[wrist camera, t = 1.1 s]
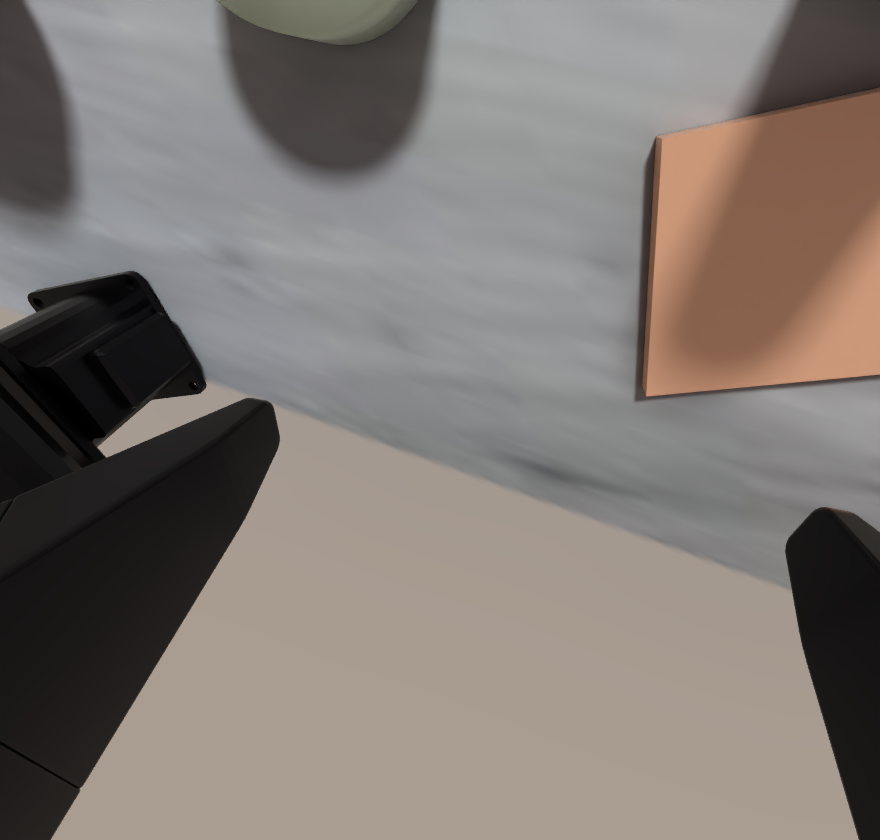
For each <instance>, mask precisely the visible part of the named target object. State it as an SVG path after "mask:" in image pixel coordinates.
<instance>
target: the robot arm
mask: <svg viewBox="0 0 880 840" xmlns="http://www.w3.org/2000/svg"><path fill="white" fill-rule="evenodd" d="M131 281H133V282H134V284H135V286H134V285H133V284H132V283H131ZM28 301H29V303H30V304H31V306H32V307H33V308H34V309H35V311H36V313H34V314H32V315H30V316H28V317H26V318H24V319H22V320H20V321H18V322H16V323H14V324H11V325H9V326H7V327H5V328H3V329H1V330H0V840H51V838H52V836H53V835H54V833H55V832H56V830H57V828H58V827H59V825H60V823H61V822H62V820H63V818H64V817H65V815H66V813H67V812H68V810H69V809H70V807H71V805H72V804H73V802H74V800H75V799H76V797H77V795H78V794H79V792H80V788H81V787H82V786H83V785H84V783H85V782H86V780H87V778H88V777H89V775H90V773H91V772H92V770H93V768H94V767H95V765H96V763H97V762H98V760H99V759H100V757H101V755H102V754H103V752H104V750H105V748H106V747H107V745H108V744H109V742H110V740H111V739H112V737H113V736H114V734H115V732H116V731H117V729H118V727H119V726H120V724H121V722H122V721H123V719H124V717H125V716H126V714H127V713H128V711H129V709H130V708H131V706H132V704H133V703H134V701H135V699H136V698H137V696H138V694H139V693H140V691H141V689H142V688H143V686H144V685H145V683H146V681H147V680H148V678H149V676H150V675H151V673H152V671H153V670H154V668H155V666H156V665H157V663H158V662H159V660H160V658H161V657H162V655H163V653H164V652H165V650H166V648H167V647H168V645H169V643H170V642H171V640H172V639H173V637H174V635H175V634H176V632H177V630H178V629H179V627H180V625H181V624H182V622H183V620H184V619H185V617H186V615H187V614H188V612H189V611H190V609H191V607H192V606H193V604H194V602H195V600H196V599H197V597H198V596H199V594H200V592H201V591H202V589H203V587H204V586H205V584H206V583H207V581H208V579H209V578H210V576H211V574H212V573H213V571H214V569H215V568H216V566H217V565H218V563H219V561H220V559H221V558H222V556H223V555H224V553H225V551H226V550H227V548H228V546H229V545H230V543H231V542H232V540H233V538H234V537H235V535H236V533H237V532H238V530H239V528H240V526H241V525H242V523H243V521H244V519H245V518H246V516H247V514H248V511H249V509H250V508H251V505H252V503H253V501H254V499H255V497H256V495H257V493H258V490H259V488H260V486H261V484H262V482H263V480H264V478H265V475H266V473H267V471H268V469H269V466H270V464H271V463H272V460H273V458H274V456H275V454H276V452H277V449H278V446H279V442H280V435H279V430H278V425H277V421H276V416H275V411H274V407H273V405H272V404H271V403H270V402H269V401H266V400H260V399H255V398H246V399H243V400H241V401H238V402H236V403H234V404H231V405H229V406H227V407H224V408H222V409H220V410H217V411H215V412H213V413H210V414H208V415H206V416H203V417H201V418H199V419H196V420H194V421H192V422H189V423H187V424H185V425H182V426H180V427H178V428H175V429H173V430H171V431H168V432H166V433H164V434H161V435H159V436H157V437H154V438H152V439H150V440H148V441H145V442H143V443H140V444H138V445H136V446H133V447H131V448H128V449H126V450H124V451H122V452H120V453H117V454H114V455H112V456H110V457H107V458H106V457H105V456H104V455H103V454H102V452H101V451H100V450H99V449H98V448H97V447H98V446H99V445H100V444H101V443H102V442H104V441H105V440H106V439H107V438H108V437H109V436H110V435H112V434H113V433H114V432H115V431H116V430H117V429H119V428H120V427H121V426H122V425H123V424H124V423H125V422H127V421H128V420H129V419H130V418H131V417H132V416H133V415H135V414H136V413H137V412H138V411H139V410H140V409H141V408H143V407H144V406H145V405H146V404H147V403H148V402H149V401H151V400H153V399H162V398H170V397H178V396H186V395H194V394H199V393H201V392H202V391H203V390H204V389H205V388H206V382H205V380H204V378H203V376H202V375H201V373H200V371H199V370H198V368H197V366H196V365H195V363H194V361H193V360H192V358H191V356H190V355H189V353H188V351H187V350H186V348H185V346H184V345H183V343H182V341H181V340H180V338H179V336H178V335H177V333H176V331H175V330H174V328H173V326H172V325H171V323H170V321H169V320H168V318H167V316H166V314H165V313H164V311H163V309H162V308H161V306H160V304H159V303H158V301H157V299H156V298H155V296H154V294H153V293H152V291H151V289H150V288H149V286H148V284H147V283H146V281H145V279H144V278H143V277H142V276H141V275H140V274H139V273H137V272H134V271H127V272H122V273H117V274H113V275H108V276H103V277H98V278H93V279H88V280H84V281H79V282H74V283H69V284H64V285H59V286H54V287H50V288H45V289H40V290H37V291H34V292H32V293H30V294H28ZM194 383H195V384H196V385H195V384H194ZM785 552H786V559H787V565H788V571H789V576H790V582H791V588H792V593H793V598H794V605H795V610H796V616H797V621H798V627H799V633H800V637H801V642H802V647H803V650H804V654H805V658H806V662H807V665H808V669H809V672H810V675H811V679H812V682H813V685H814V689H815V692H816V695H817V699H818V702H819V706H820V709H821V713H822V716H823V720H824V723H825V726H826V730H827V733H828V736H829V740H830V743H831V747H832V750H833V753H834V757H835V760H836V764H837V767H838V770H839V773H840V777H841V781H842V784H843V787H844V791H845V794H846V797H847V801H848V804H849V808H850V811H851V815H852V818H853V821H854V825H855V828H856V832H857V835H858V838H859V840H880V532H879V531H877V530H876V529H875V528H873V527H872V526H871V525H869V524H868V523H867V522H865V521H864V520H863V519H861V518H860V517H859V516H857V515H856V514H854V513H851V512H848V511H844V510H838V509H833V508H828V507H820V508H818V509H816V510H814V511H813V512H812V513H811V514H810V515H809V516H808V517H807V518H806V519H805V520H804V522H803V523H802V524H801V525H800V526H799V527H798V528H797V529H796V530H795V531H794V532H793V534H792V535H791V536H790V537H789V538H788V541H787V543H786V550H785Z"/></svg>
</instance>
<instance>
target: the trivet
mask: <svg viewBox="0 0 880 840" xmlns="http://www.w3.org/2000/svg"><path fill="white" fill-rule="evenodd" d="M879 374H880V88H875V89H871V90H866V91H862V92H857V93H853V94H848V95H843V96H839V97H834V98H830V99H825V100H821V101H816V102H811V103H807V104H802V105H798V106H793V107H789V108H784V109H779V110H775V111H770V112H766V113H761V114H757V115H752V116H747V117H743V118H738V119H734V120H729V121H725V122H720V123H715V124H711V125H706V126H702V127H697V128H693V129H688V130H683V131H679V132H674V133H670V134H665V135H661V136H656V148H655V166H654V184H653V202H652V220H651V238H650V256H649V274H648V292H647V310H646V328H645V346H644V364H643V382H642V388H643V390H644V392H645V395H646V396H657V395H667V394H678V393H688V392H699V391H710V390H720V389H731V388H741V387H752V386H763V385H773V384H784V383H794V382H805V381H816V380H826V379H837V378H847V377H858V376H869V375H879Z"/></svg>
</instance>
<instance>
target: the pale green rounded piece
mask: <svg viewBox="0 0 880 840" xmlns="http://www.w3.org/2000/svg"><path fill="white" fill-rule="evenodd" d="M217 1H218V2H219V3H220V4H222V5H223V6H224V7H225V8H227V9H228V10H230V11H231V12H233V13H234V14H236V15H237V16H239V17H240V18H242V19H244V20H246V21H248V22H250V23H252V24H254V25H256V26H258V27H261V28H264V29H267V30H271V31H274V32H277V33H282V34H286V35H291V36H296V37H300V38H305V39H309V40H314V41H318V42H323V43H328V44H335V45H354V44H359V43H363V42H367V41H370V40H372V39H375V38H377V37H379V36H381V35H383V34H384V33H386V32H388V31H389V30H391V29H392V28H393V27H395V26H396V25H397V24H398V23H399V22H400V21H401V20H403V19H404V18H405V16H406V15H407V14H408V13H409V12H410V11H411V10H412V8H413V7H414V6H415V5H416V3H417V2H418V0H217Z"/></svg>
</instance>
